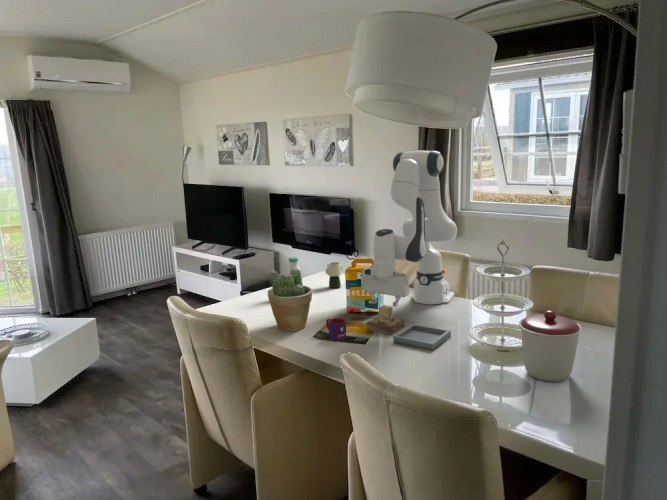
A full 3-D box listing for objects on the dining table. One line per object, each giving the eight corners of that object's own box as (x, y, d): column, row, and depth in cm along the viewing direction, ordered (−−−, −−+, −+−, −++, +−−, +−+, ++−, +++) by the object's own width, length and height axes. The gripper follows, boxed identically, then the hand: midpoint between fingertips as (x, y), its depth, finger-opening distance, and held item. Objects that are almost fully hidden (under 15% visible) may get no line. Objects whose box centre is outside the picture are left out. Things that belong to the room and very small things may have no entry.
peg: (384, 326, 215) (383, 305, 213) (392, 327, 212) (392, 306, 210) (379, 329, 211) (378, 307, 210) (387, 330, 209) (387, 309, 207)
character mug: (338, 284, 281) (337, 260, 279) (347, 286, 276) (346, 262, 273) (322, 288, 275) (321, 263, 272) (330, 290, 269) (329, 266, 267)
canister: (531, 358, 178) (533, 298, 174) (587, 373, 165) (591, 309, 161) (507, 376, 165) (508, 312, 161) (566, 393, 153) (569, 324, 148)
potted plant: (294, 316, 231) (291, 261, 226) (323, 325, 218) (321, 267, 213) (261, 327, 219) (257, 269, 214) (289, 338, 205) (286, 276, 201)
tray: (412, 329, 209) (412, 323, 209) (450, 336, 200) (450, 330, 200) (393, 342, 197) (393, 336, 196) (432, 350, 187) (432, 344, 187)
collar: (380, 322, 219) (380, 314, 219) (404, 326, 213) (404, 318, 212) (366, 330, 211) (366, 321, 210) (391, 335, 204) (391, 326, 203)
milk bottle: (304, 298, 257) (302, 258, 253) (288, 300, 256) (286, 260, 252) (302, 294, 265) (300, 255, 261) (286, 295, 263) (284, 257, 259)
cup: (334, 341, 200) (334, 324, 198) (321, 334, 208) (321, 317, 207) (349, 337, 203) (349, 321, 202) (336, 330, 212) (335, 314, 210)
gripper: (412, 272, 203) (412, 306, 206) (367, 266, 215) (367, 299, 218) (404, 275, 198) (404, 310, 201) (358, 269, 210) (359, 303, 213)
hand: (385, 304), depth 209 cm, fingers open, 8 cm apart
